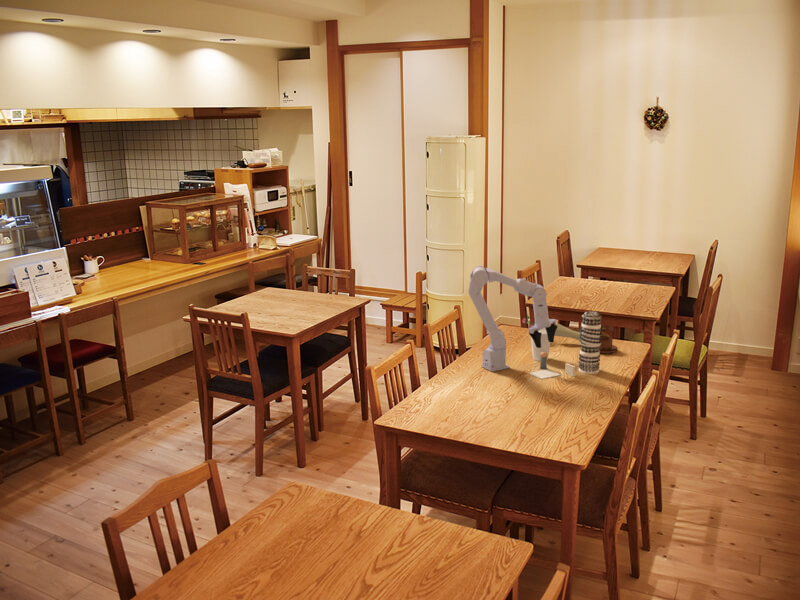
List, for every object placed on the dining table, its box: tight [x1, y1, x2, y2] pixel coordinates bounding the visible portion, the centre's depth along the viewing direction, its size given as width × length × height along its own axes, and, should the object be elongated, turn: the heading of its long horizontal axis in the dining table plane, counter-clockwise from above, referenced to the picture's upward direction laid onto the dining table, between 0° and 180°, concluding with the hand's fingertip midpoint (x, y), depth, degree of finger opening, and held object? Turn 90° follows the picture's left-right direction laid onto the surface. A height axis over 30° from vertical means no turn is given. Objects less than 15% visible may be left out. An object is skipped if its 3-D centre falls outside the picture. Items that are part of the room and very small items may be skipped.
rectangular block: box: [564, 362, 576, 377], centre depth 293 cm, size 5×1×4 cm, turn 27°
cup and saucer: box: [599, 335, 618, 354], centre depth 322 cm, size 12×12×6 cm
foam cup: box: [530, 328, 552, 362], centre depth 312 cm, size 10×9×13 cm
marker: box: [539, 352, 548, 370], centre depth 300 cm, size 3×3×7 cm
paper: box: [528, 368, 561, 380], centre depth 294 cm, size 10×8×1 cm
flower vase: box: [521, 314, 582, 342], centre depth 336 cm, size 12×12×35 cm
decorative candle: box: [578, 310, 603, 375], centre depth 295 cm, size 9×9×25 cm
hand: (545, 344), depth 299 cm, fingers open, 7 cm apart
